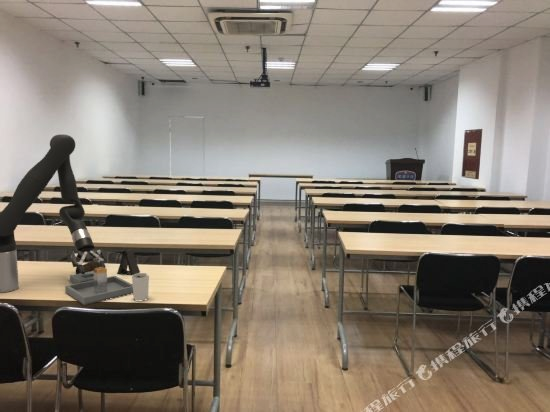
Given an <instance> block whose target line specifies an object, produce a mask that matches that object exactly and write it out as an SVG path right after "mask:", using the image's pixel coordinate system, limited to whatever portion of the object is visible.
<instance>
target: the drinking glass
mask: <svg viewBox="0 0 550 412" xmlns="http://www.w3.org/2000/svg"><path fill="white" fill-rule="evenodd" d="M149 278H150V274H149V273H147V272H139V273H137V274H134V275H132V276H131V282H132V283H131V284H133V294H132V295H133V300H134V299H135V300H145V299H147V300H148V299H149V287H150V286H149V284H150V283H149V281H150V279H149ZM135 300H134V301H135ZM145 301H146V300H145Z"/></svg>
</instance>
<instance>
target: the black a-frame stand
mask: <svg viewBox="0 0 550 412" xmlns="http://www.w3.org/2000/svg"><path fill="white" fill-rule="evenodd" d="M137 273H141V271H140V268H139V265H138V262H137V260H136V256H135V249H133V248H128V249H125V250H123V251H122V252H121V260H120V262H119V266H118V269H117V272H116V275H121V276H130V277H132V275H134V274H137Z"/></svg>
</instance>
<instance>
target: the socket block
mask: <svg viewBox="0 0 550 412" xmlns="http://www.w3.org/2000/svg"><path fill="white" fill-rule="evenodd" d="M92 280H94V273H93V270H92V271H91V270H90V271H89V272H85V274H83V275H82V274H81V273H80V274H76V273H75V274H70V275H69V281H70V283H72V284H77V283H82V282H87V281H92Z"/></svg>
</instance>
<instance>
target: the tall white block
mask: <svg viewBox="0 0 550 412" xmlns="http://www.w3.org/2000/svg"><path fill="white" fill-rule="evenodd" d="M107 270H108V269H107V268H106V267H105V268H104V267H96V268H94V269H92V271H93V273H94V291H95V292H96V293H103V292H107V277H108V272H107Z"/></svg>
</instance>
